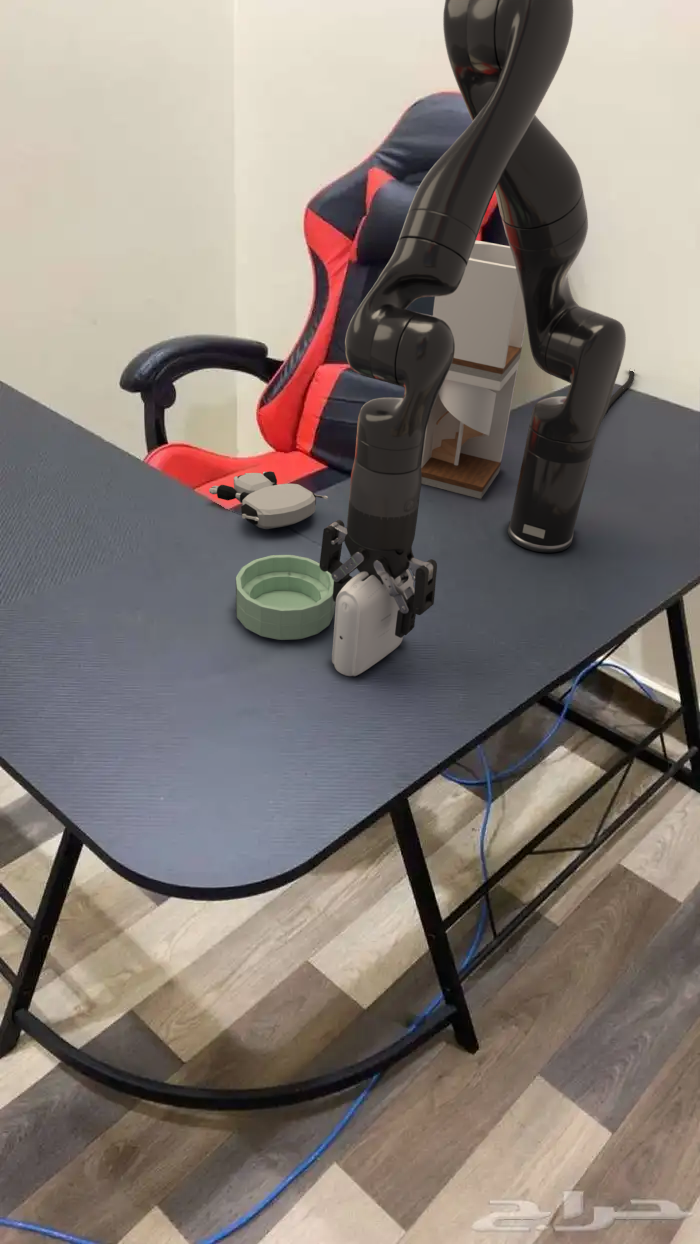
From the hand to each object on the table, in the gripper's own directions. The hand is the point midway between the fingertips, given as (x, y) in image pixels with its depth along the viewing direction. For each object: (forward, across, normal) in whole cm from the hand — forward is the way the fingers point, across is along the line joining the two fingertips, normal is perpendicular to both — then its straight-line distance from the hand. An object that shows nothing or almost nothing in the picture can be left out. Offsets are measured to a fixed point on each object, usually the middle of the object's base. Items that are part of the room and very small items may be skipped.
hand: (371, 619), depth 111 cm
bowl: (+5, +13, 0) cm, 14 cm away
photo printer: (+6, 0, 0) cm, 6 cm away
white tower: (+6, +16, -48) cm, 51 cm away
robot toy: (+6, +31, -18) cm, 36 cm away
